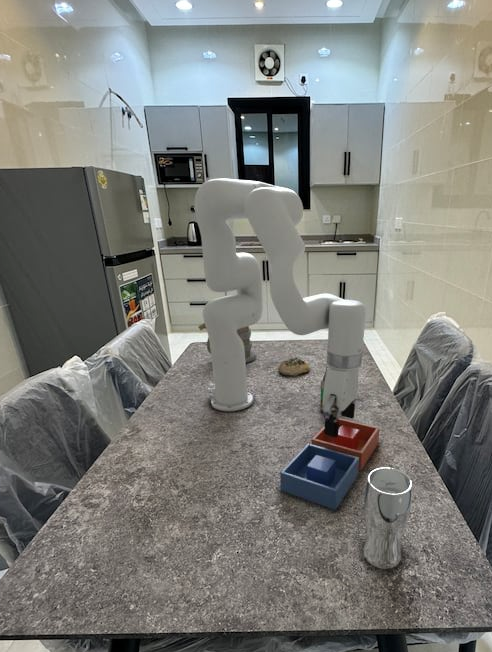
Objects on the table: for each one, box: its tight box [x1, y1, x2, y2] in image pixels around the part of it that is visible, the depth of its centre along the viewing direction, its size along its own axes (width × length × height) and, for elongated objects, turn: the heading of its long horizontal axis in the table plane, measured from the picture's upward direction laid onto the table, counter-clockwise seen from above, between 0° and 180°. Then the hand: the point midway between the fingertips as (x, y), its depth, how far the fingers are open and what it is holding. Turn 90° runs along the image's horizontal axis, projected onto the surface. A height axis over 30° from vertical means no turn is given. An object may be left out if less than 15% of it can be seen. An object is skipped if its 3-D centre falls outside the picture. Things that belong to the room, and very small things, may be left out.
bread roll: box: [278, 356, 310, 376], centre depth 138 cm, size 11×11×5 cm
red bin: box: [311, 417, 380, 471], centre depth 91 cm, size 12×12×4 cm
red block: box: [334, 426, 359, 450], centre depth 91 cm, size 4×4×4 cm
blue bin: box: [279, 443, 359, 511], centre depth 80 cm, size 12×12×4 cm
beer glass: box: [363, 467, 413, 570], centre depth 60 cm, size 7×7×15 cm
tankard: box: [198, 322, 255, 364], centre depth 148 cm, size 20×13×15 cm, turn 94°
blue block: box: [307, 455, 335, 487], centre depth 79 cm, size 4×4×4 cm
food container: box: [320, 366, 338, 413], centre depth 111 cm, size 12×6×10 cm, turn 168°
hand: (339, 425), depth 91 cm, fingers open, 9 cm apart
